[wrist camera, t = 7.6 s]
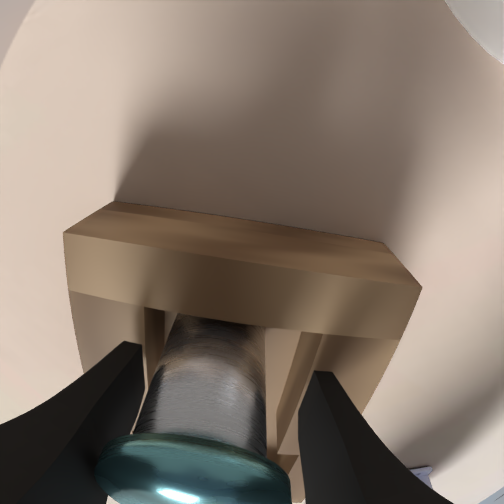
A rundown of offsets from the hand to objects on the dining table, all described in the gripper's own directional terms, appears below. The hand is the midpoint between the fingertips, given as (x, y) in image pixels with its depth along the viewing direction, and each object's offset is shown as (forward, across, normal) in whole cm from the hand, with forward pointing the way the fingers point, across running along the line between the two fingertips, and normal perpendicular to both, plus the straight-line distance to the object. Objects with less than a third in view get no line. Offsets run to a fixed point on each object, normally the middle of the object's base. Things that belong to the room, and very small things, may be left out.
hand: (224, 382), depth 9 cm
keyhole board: (+4, 0, +4) cm, 6 cm away
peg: (+3, 0, 0) cm, 3 cm away
